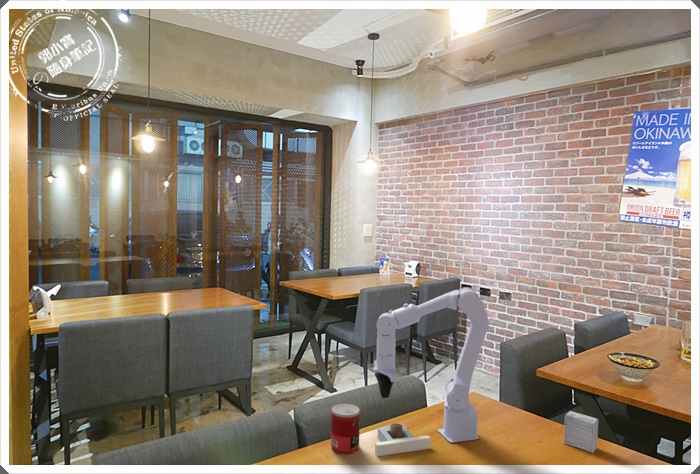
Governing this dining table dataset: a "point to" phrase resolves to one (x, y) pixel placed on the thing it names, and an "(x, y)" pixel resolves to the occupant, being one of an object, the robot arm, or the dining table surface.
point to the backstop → (402, 445)
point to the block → (385, 434)
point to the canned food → (345, 428)
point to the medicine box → (581, 431)
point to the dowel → (396, 431)
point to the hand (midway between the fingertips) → (384, 397)
